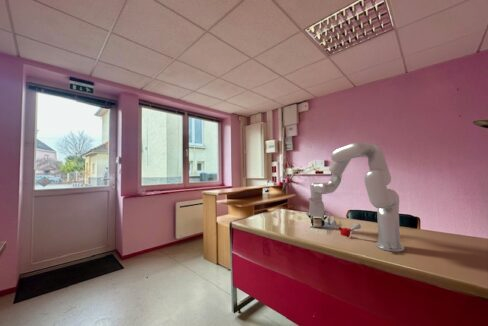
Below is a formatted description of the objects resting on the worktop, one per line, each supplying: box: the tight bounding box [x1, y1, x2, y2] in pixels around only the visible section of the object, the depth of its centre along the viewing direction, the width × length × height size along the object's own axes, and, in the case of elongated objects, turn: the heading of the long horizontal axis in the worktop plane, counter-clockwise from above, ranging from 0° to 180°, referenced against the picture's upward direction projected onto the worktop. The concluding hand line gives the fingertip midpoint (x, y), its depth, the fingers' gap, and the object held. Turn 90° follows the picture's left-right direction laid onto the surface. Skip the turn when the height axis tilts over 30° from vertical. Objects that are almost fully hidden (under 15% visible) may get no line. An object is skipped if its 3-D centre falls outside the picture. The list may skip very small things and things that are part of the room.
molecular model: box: [330, 219, 362, 238], centre depth 127 cm, size 18×6×10 cm, turn 50°
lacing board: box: [309, 221, 338, 232], centre depth 148 cm, size 20×15×2 cm
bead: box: [313, 217, 322, 227], centre depth 145 cm, size 6×6×5 cm
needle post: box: [327, 212, 332, 225], centre depth 151 cm, size 2×2×8 cm
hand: (317, 225), depth 145 cm, fingers closed on bead, 6 cm apart
